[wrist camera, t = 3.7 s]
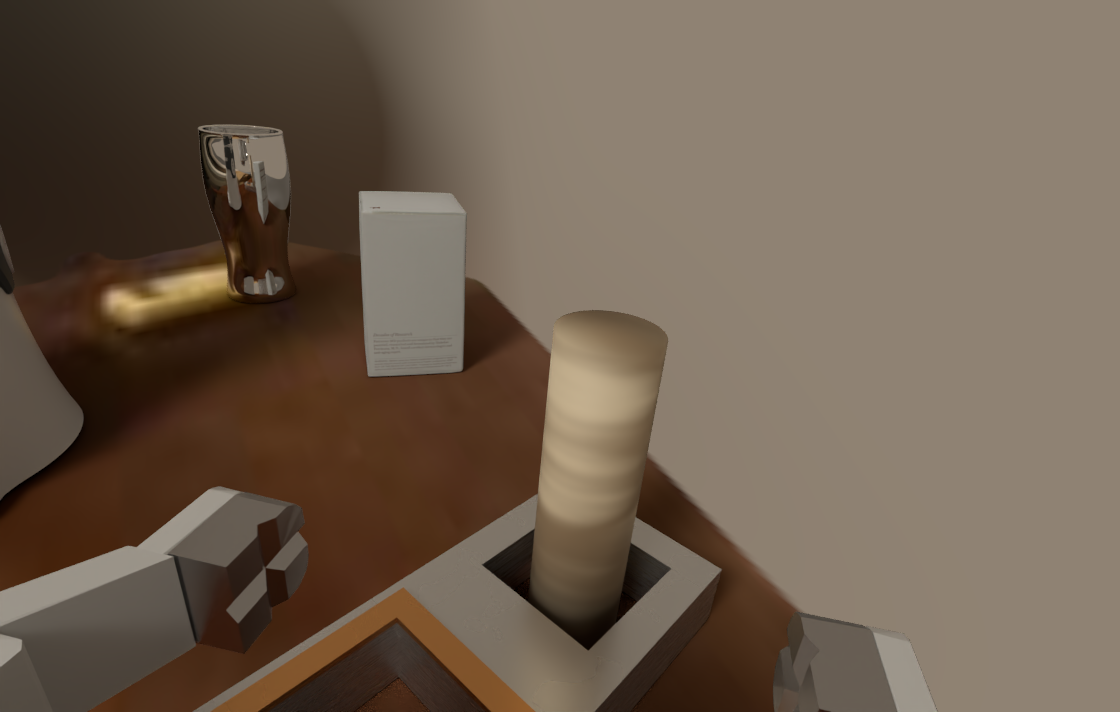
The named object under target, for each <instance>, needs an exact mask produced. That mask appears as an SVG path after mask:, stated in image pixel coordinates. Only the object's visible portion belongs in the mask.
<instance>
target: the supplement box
mask: <svg viewBox="0 0 1120 712" xmlns="http://www.w3.org/2000/svg"><path fill="white" fill-rule="evenodd" d="M359 216H360V217H359V220H360V221H359V223H360V252H361V275H362V295H363V316H364V337H365V352H366V361H367V370H368V376H371V377H373V376H397V375H418V374H435V373H453V372H461V371H462V370H463V355H464V313H465V263H466V259H465V258H466V220H467V213H466V212H465V210H464V209H463V208H462V207H461V205H460V204H459V203H458V201H457V200H456V199H455V197H454V196H453V194H451V193H450V194H449V193H430V192H388V191H387V192H386V191H384V192H383V191H361V192H359Z"/></svg>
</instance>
